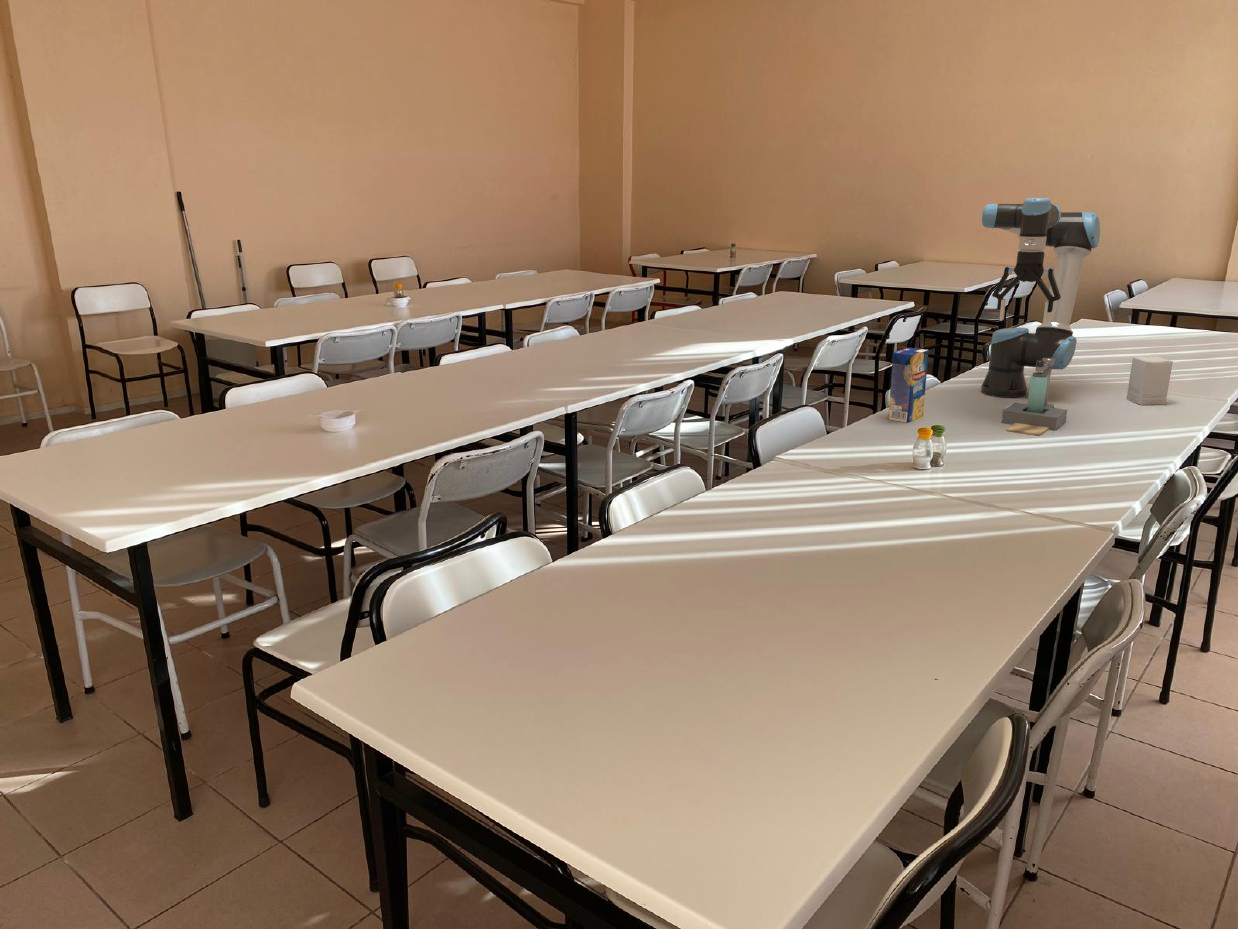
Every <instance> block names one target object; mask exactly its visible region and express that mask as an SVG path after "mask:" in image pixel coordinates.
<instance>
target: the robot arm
mask: <svg viewBox="0 0 1238 929" xmlns="http://www.w3.org/2000/svg"><path fill="white" fill-rule="evenodd" d="M981 223H982V226H983V228H987V229H988V228H989V229H1001V230H1004V231H1005V232H1006V231H1007V232H1009V233H1012V234H1015V235H1017V237H1018V238H1019V239H1018V247H1017V249H1018V250H1019V251H1018V252H1017V254H1016V255H1017V256H1016V263H1015V267H1012V266H1009V265H1008V266H1005V267H1004V271H1003V274H1002V277H1001V278H1000V280H999V282H998V284H997V285H996V287H995V289H994V290H993V292H992V294H991V297H992V298H996V299H997V306H996V307H997V308H996V309H997V310H999V322H1000V321H1001V322H1002V321H1003V320H1005V312H1006V310H1005V308H1006V302H1007V298H1005V297H1006V295H1007V294H1009V292H1010V291H1011V290H1012V289H1013V288H1014V287H1015V286H1016V285H1017V284H1018V283H1019V282H1020V281H1021V282H1022V283H1023V282H1029V283H1033V282H1034V283H1035V284H1037V286H1038V287H1039V289H1040V291H1042V293H1043V295H1044V297H1045V298H1046V299H1047V300H1046V301H1045V304H1044V312H1043V319H1042V323H1041V324H1040V325H1038V326H1036V329H1035V333H1033V332H1030V330H1029V328H1028V327H1007V328H1000V329H997V330H995V331H994V332H993V333H992V337H991V341H990V352H989V362H988V370H987V373H986V375H985V377H984V380H983V382H982V384H981V387H980V393H982V394H984V395H988V396H991V397H999V398H1020V397H1021V398H1022V397H1025V396H1026V395H1027V391H1028V386H1027V382H1026V378H1025V373H1024V372H1025V371H1024V370H1025V367H1029V368H1036V361H1038V360H1041V361H1042V358H1054V359H1055V362H1054V367H1051V368H1052V369H1051V371H1052V370H1064V369H1066V368H1067V367H1068V366H1069V365H1070V363H1071V362H1072V359H1073V357H1074V356H1075V352H1076V349H1077V347H1076V346H1077V342H1078V341H1077V338H1076V336H1074V335H1073V334H1074V331H1073V330H1072V328H1071V327H1070V324H1071V320H1072V317H1073V311H1074V308H1075V303H1076V298H1077V293H1078V289H1079V284H1080V279H1081V276H1082V270H1083V266H1084V262H1085V259H1086V258H1087V257H1088V256H1090V255H1091V253H1092V249H1095V248H1096V249H1097V247H1099V244H1100V237H1101V225H1100V224H1101V223H1100V219H1099V216H1098V214H1097V213H1095V212H1085V211H1079V212H1077V211H1076V212H1072V211H1071V212H1069V211H1068V212H1067V211H1065V212H1063V211H1061V208H1060V207H1059V206H1058V205H1057V204H1054V203H1052V201H1051V199H1050V198H1049V197H1027V198H1026V199H1024V200H1023V203H997V202H996V203H988V204H986V205H985V206H984V208H983V210H982V214H981ZM1046 247H1049V248H1050V247H1053V252H1054V254H1055V255H1056V260H1055V263H1054V267H1050V268H1045V267H1044V259H1045V251H1044V250H1045V249H1046ZM1013 272H1014V274H1015V276H1016V277H1015V278H1014V279H1013V280H1012V281H1011V282H1010V283H1009V285H1007V286H1006V287H1005V289H1004V290H1003V291H1002V292H1001V290H1002V288H1003V287H1004V286H1005V283H1006V281H1007V279H1008V277H1009V276H1010V275H1011V274H1012V273H1013ZM1043 273H1045V276H1047V278H1048V280H1049V281H1048V282H1049V285H1050V287H1049V288H1048V287H1047V286H1046V284H1045V282H1044V281H1043V279H1042V277H1041V276H1042V274H1043ZM1000 292H1001V293H1000Z"/></svg>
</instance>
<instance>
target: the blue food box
mask: <svg viewBox="0 0 1238 929" xmlns="http://www.w3.org/2000/svg"><path fill="white" fill-rule="evenodd" d="M928 361H929V349H923V348H916V347H915V348H913V347H907V348H904V349H901V350H897V351H895V352H894V351H893V352H892V364H891V376H890V378H891V379H890V393H889V403H888V404H889V405H888V417H887V418H888V420H889V421H895V422H902V423H910V422H913V421H915V420H918V419H920V418H922V417H923V416H924V410H925V408H924V407H925V398H926V396H925V395H926V384H927V372H928Z"/></svg>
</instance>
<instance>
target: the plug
mask: <svg viewBox="0 0 1238 929" xmlns="http://www.w3.org/2000/svg"><path fill="white" fill-rule="evenodd" d="M1047 379H1048V376H1047V374H1046V373H1043V371H1042V372H1035V371H1034V372H1033V373H1032V374H1031V375H1030V381H1029V390H1028V398H1027V412H1034V413H1042V414H1043V411H1044V403H1045V395H1046V387H1047Z"/></svg>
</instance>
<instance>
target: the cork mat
mask: <svg viewBox="0 0 1238 929" xmlns="http://www.w3.org/2000/svg"><path fill="white" fill-rule="evenodd" d="M1048 430H1049V427H1042V426H1035V425H1028V424H1021V423H1014V424H1010V426H1008V427H1007V428H1005V432H1011V433H1018V434H1022V435H1023V434H1024V435H1031V436H1036V435H1039V436H1038V437H1041V436H1042V435H1043V434H1045V433H1046V432H1047V431H1048ZM1045 431H1046V432H1045ZM1044 432H1045V433H1044ZM1040 435H1041V436H1040Z"/></svg>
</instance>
